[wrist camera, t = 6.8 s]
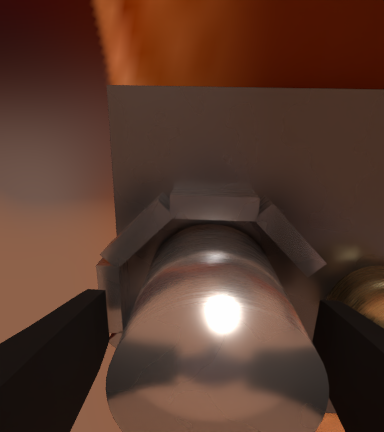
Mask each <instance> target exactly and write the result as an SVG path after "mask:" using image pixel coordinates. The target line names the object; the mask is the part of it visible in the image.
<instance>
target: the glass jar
mask: <svg viewBox="0 0 384 432" xmlns="http://www.w3.org/2000/svg"><path fill="white" fill-rule="evenodd" d="M106 394H107V401H108V405H109V408H110V411H111V413H112V415H113V418H114V420H115V421H116V423H117V425H118V426H119V428H120V429H121V430H122V432H315V431H316V430H317V428H318V426H319V425H320V423H321V421H322V419H323V417H324V414H325V412H326V409H327V404H328V399H329V383H328V376H327V373H326V370H325V367H324V364H323V362H322V360H321V358H320V356H319V354H318V353H317V351H316V349H315V347H314V345H313V343H312V341H311V339H310V337H309V336H308V334H307V332H306V330H305V328H304V326H303V324H302V322H301V320H300V319H299V317H298V315H297V313H296V311H295V309H294V307H293V305H292V303H291V302H290V300H289V298H288V296H287V294H286V292H285V290H284V288H283V286H282V285H281V283H280V281H279V279H278V277H277V275H276V273H275V271H274V269H273V268H272V266H271V264H270V262H269V260H268V258H267V256H266V254H265V253H264V251H263V250H262V248H261V247H260V246H259V245H258V244H257V243H256V242H255V241H254V240H253V239H252V238H251V237H249V236H248V235H246V234H245V233H243V232H241V231H239V230H237V229H234V228H232V227H228V226H224V225H218V224H203V225H197V226H192V227H189V228H186V229H184V230H181V231H180V232H178V233H176V234H174V235H173V236H171V237H170V238H169V239H168V240H166V241H165V242H164V243H163V244H162V246H161V247H160V248H159V249H158V251H157V253H156V254H155V256H154V258H153V261H152V263H151V265H150V268H149V270H148V273H147V275H146V278H145V280H144V282H143V285H142V287H141V290H140V292H139V295H138V297H137V299H136V302H135V304H134V307H133V309H132V312H131V314H130V316H129V319H128V321H127V324H126V326H125V329H124V331H123V333H122V336H121V338H120V341H119V343H118V346H117V348H116V350H115V353H114V355H113V358H112V360H111V363H110V365H109V368H108V373H107V377H106Z"/></svg>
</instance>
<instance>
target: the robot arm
mask: <svg viewBox="0 0 384 432" xmlns="http://www.w3.org/2000/svg"><path fill="white" fill-rule="evenodd" d="M109 340H110V338H109V327H108V315H107V303H106V291H105V290H94V289H93V290H91V289H87V290H86V291H84V292H82V293H80V294H79V295H77V296H76V297H74V298H72V299H71V300H69V301H68V302H66V303H65V304H63V305H62V306H60V307H59V308H57V309H56V310H54V311H53V312H51V313H50V314H48V315H46V316H45V317H43V318H42V319H40V320H39V321H37V322H35V323H34V324H32V325H31V326H29V327H27V328H26V329H24V330H22V331H21V332H19V333H17V334H16V335H14V336H12V337H11V338H9V339H7V340H6V341H4V342H2V343H1V344H0V432H70V431H71V428H72V426H73V424H74V422H75V420H76V418H77V416H78V414H79V412H80V410H81V408H82V405H83V403H84V401H85V399H86V397H87V395H88V393H89V391H90V389H91V386H92V384H93V382H94V380H95V378H96V376H97V373H98V371H99V369H100V366H101V364H102V361H103V358H104V355H105V352H106V349H107V346H108V343H109ZM312 343H313V345H314V347H315V349H316V351H317V353H318V354H319V356H320V358H321V360H322V362H323V364H324V367H325V370H326V373H327V376H328V383H329V399H330V401H331V403H332V405H333V407H334V409H335V411H336V413H337V415H338V417H339V419H340V422H341V424H342V426H343V428H344V430H345V432H384V328H382V327H381V326H379V325H377V324H376V323H374V322H373V321H371V320H370V319H368V318H367V317H365V316H364V315H362V314H361V313H359V312H358V311H356V310H354V309H353V308H351V307H350V306H348V305H346V304H344V303H343V302H341V301H338V300H320V303H319V308H318V314H317V319H316V324H315V329H314V335H313V340H312Z"/></svg>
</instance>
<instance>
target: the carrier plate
mask: <svg viewBox="0 0 384 432" xmlns="http://www.w3.org/2000/svg"><path fill="white" fill-rule="evenodd" d="M107 96H108V111H109V126H110V141H111V155H112V171H113V186H114V201H115V216H116V230H117V231H116V232H117V237H116V238H115V239H114V240H113V241H112V242H111V243H110V244H109V245H108V246H107V247H106V248H105V249H104V251H103V252H102V253H101V254H100V255H101V256H102V257H103V258H102V259H101V260H100V261H99V263H98V264H97V265H96V268H97V279H98V290H105V291H106V303H107V315H108V327H109V333H112V334H111V336H110V340H109V343H110V344H111V345H113V346H114V347H115V348H117V346H118V343H119V341H120V338H121V336H122V333H123V331H124V329H125V326H126V324H127V321H128V319H129V316H130V314H131V312H132V309H133V307H134V304H135V302H136V299H137V297H138V295H139V292H140V290H141V287H142V285H143V282H144V280H145V278H146V275H147V273H148V270H149V268H150V265H151V263H152V261H153V258H154V256H155V254H156V253H157V251H158V249H159V248H160V247H161V246H162V244H163V243H164V242H165V241H166V240H168V239H169V238H170V237H171V236H173V235H174V234H176V233H178V232H180V231H181V230H184V229H186V228H189V227H192V226H197V225H203V224H218V225H224V226H228V227H232V228H234V229H237V230H239V231H241V232H243V233H245V234H246V235H248V236H249V237H251V238H252V239H253V240H254V241H255V242H256V243H257V244H258V245H259V246H260V247H261V248H262V250H263V251H264V253H265V254H266V256H267V258H268V260H269V262H270V264H271V266H272V268H273V269H274V271H275V273H276V275H277V277H278V279H279V281H280V283H281V285H282V286H283V288H284V290H285V292H286V294H287V296H288V298H289V300H290V302H291V303H292V305H293V307H294V309H295V311H296V313H297V315H298V317H299V319H300V320H301V322H302V324H303V326H304V328H305V330H306V332H307V334H308V336H309V337H310V339H311V341H312V340H313V335H314V329H315V324H316V319H317V314H318V308H319V303H320V300H338V301H341V302H343V303H344V304H346V305H348V306H350V307H351V308H353V309H354V310H356V311H358V312H359V313H361V314H362V315H364V316H365V317H367V318H368V319H370V320H371V321H373V322H374V323H376V324H377V325H379V326H381V327H382V328H384V89H322V88H258V87H194V86H130V85H107ZM325 413H336V411H335V409H334V407H333V405H332V403H331V401H330V399H328V404H327V409H326V412H325Z"/></svg>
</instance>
